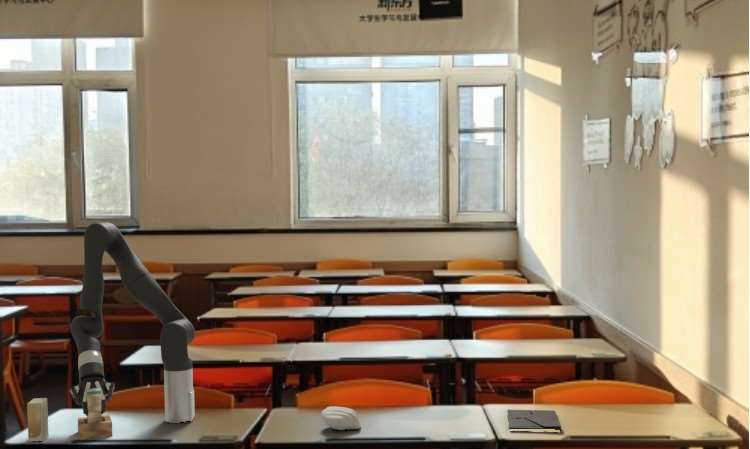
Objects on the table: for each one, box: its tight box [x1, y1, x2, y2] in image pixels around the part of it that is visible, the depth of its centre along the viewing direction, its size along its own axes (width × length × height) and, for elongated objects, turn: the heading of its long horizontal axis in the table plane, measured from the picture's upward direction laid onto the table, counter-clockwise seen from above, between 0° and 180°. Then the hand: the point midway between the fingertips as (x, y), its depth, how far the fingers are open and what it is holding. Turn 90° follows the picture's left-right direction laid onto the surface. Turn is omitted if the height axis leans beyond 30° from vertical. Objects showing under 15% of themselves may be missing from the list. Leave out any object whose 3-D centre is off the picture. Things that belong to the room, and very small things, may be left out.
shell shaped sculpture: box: [320, 406, 362, 431], centre depth 253 cm, size 13×13×6 cm
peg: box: [86, 388, 103, 423], centre depth 251 cm, size 4×4×12 cm
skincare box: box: [26, 397, 50, 442], centre depth 246 cm, size 6×4×12 cm
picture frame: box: [506, 409, 562, 431], centre depth 257 cm, size 16×3×21 cm
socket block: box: [77, 414, 113, 441], centre depth 252 cm, size 10×10×4 cm
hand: (94, 413), depth 250 cm, fingers closed on peg, 4 cm apart
